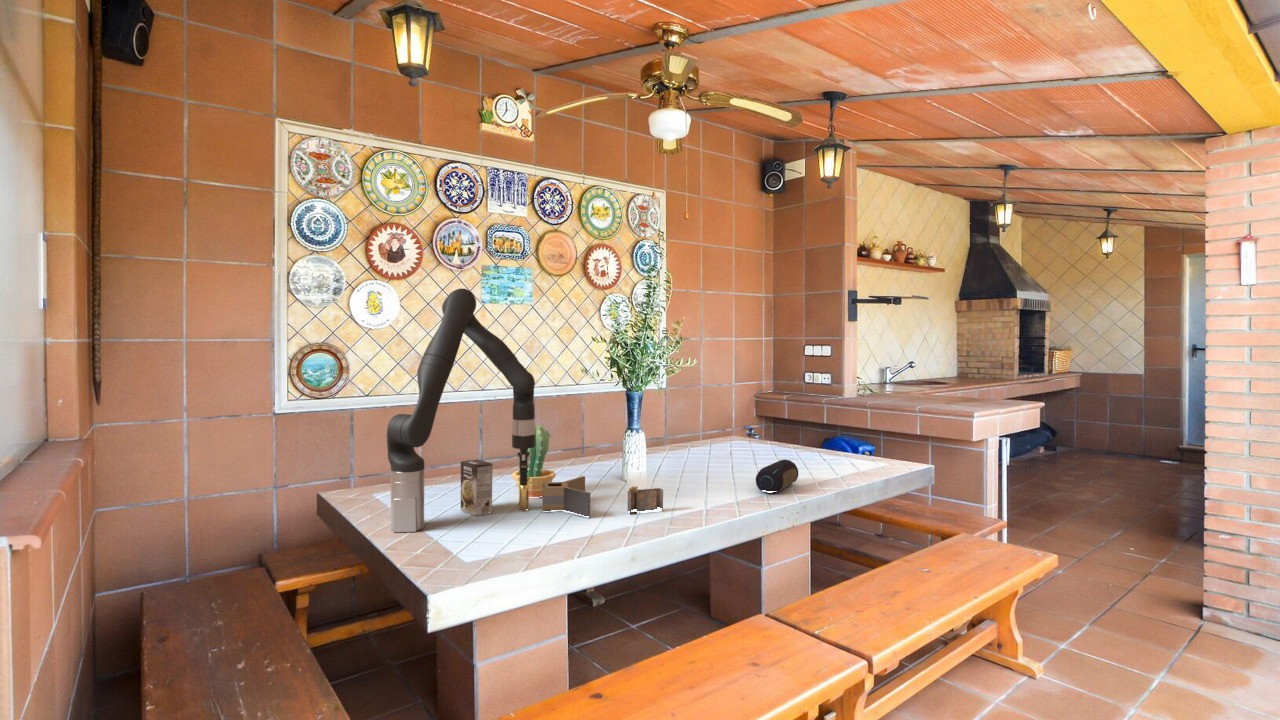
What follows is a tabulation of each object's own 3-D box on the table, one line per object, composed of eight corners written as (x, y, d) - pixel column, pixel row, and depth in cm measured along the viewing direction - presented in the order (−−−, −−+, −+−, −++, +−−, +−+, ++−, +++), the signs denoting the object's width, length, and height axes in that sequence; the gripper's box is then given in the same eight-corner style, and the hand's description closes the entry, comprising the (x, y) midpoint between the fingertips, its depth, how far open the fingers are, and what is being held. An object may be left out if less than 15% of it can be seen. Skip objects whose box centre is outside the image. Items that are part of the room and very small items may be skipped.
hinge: (590, 518, 205) (590, 493, 205) (542, 520, 203) (542, 494, 202) (584, 498, 230) (585, 476, 229) (542, 499, 227) (542, 476, 227)
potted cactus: (563, 497, 231) (563, 426, 230) (522, 503, 223) (523, 429, 222) (543, 488, 244) (544, 421, 243) (504, 493, 235) (505, 424, 234)
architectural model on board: (630, 516, 209) (631, 486, 209) (627, 514, 212) (627, 484, 212) (663, 513, 214) (663, 483, 213) (659, 511, 216) (660, 481, 216)
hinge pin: (529, 511, 213) (529, 478, 212) (517, 511, 212) (518, 478, 212) (529, 508, 216) (529, 476, 216) (518, 508, 216) (518, 476, 215)
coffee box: (459, 511, 212) (459, 461, 211) (476, 507, 216) (477, 458, 216) (475, 516, 205) (475, 465, 205) (492, 512, 210) (493, 462, 210)
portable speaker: (778, 497, 236) (779, 470, 235) (752, 493, 241) (753, 466, 240) (801, 484, 257) (801, 459, 256) (776, 481, 262) (777, 456, 262)
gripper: (512, 429, 220) (512, 477, 221) (511, 436, 206) (511, 487, 207) (535, 429, 221) (535, 477, 222) (535, 436, 207) (535, 487, 208)
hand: (523, 482), depth 214 cm, fingers open, 8 cm apart
